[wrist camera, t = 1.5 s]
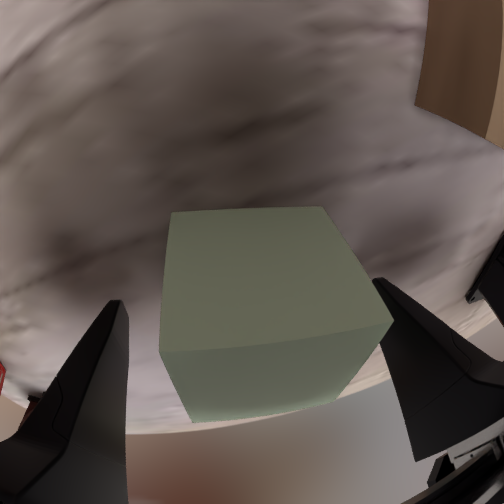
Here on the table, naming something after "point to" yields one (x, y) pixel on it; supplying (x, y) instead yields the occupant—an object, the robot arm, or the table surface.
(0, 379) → the stack of blocks
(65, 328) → the table surface
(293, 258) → the sage cube
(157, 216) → the table surface
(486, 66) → the walnut block
